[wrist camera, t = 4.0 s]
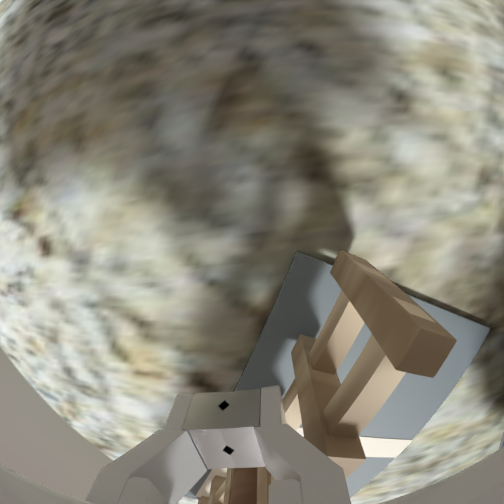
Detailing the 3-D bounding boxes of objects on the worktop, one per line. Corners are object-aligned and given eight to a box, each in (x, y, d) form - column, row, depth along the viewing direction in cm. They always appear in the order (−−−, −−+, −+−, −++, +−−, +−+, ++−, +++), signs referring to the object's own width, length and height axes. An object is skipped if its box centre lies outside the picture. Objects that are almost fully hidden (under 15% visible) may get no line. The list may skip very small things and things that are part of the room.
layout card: (182, 491, 17) (181, 495, 17) (297, 250, 12) (298, 253, 12) (326, 513, 18) (326, 516, 17) (487, 326, 13) (490, 329, 12)
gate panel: (280, 416, 13) (287, 525, 7) (258, 410, 13) (256, 522, 7) (365, 259, 11) (457, 340, 5) (340, 249, 11) (421, 328, 5)
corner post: (232, 431, 15) (221, 543, 7) (244, 410, 14) (236, 532, 7) (265, 439, 15) (265, 548, 7) (279, 419, 14) (285, 537, 7)
